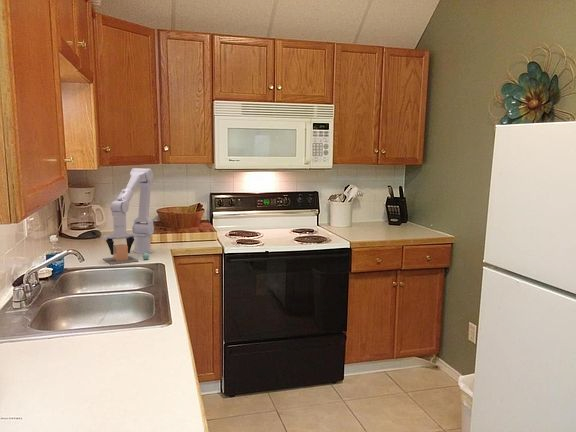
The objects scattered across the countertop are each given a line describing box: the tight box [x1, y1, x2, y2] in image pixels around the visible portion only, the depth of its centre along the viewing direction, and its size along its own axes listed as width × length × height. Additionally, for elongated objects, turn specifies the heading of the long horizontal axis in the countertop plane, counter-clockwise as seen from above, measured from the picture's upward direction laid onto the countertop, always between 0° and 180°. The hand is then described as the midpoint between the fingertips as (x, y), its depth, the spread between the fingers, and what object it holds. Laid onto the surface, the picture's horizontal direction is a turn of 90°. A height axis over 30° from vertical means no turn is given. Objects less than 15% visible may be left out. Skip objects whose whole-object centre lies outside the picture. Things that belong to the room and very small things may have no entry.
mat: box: [102, 255, 139, 265], centre depth 219 cm, size 13×13×1 cm
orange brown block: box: [112, 243, 129, 261], centre depth 218 cm, size 5×5×7 cm
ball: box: [141, 253, 150, 261], centre depth 222 cm, size 3×3×3 cm
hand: (120, 253), depth 218 cm, fingers open, 7 cm apart
